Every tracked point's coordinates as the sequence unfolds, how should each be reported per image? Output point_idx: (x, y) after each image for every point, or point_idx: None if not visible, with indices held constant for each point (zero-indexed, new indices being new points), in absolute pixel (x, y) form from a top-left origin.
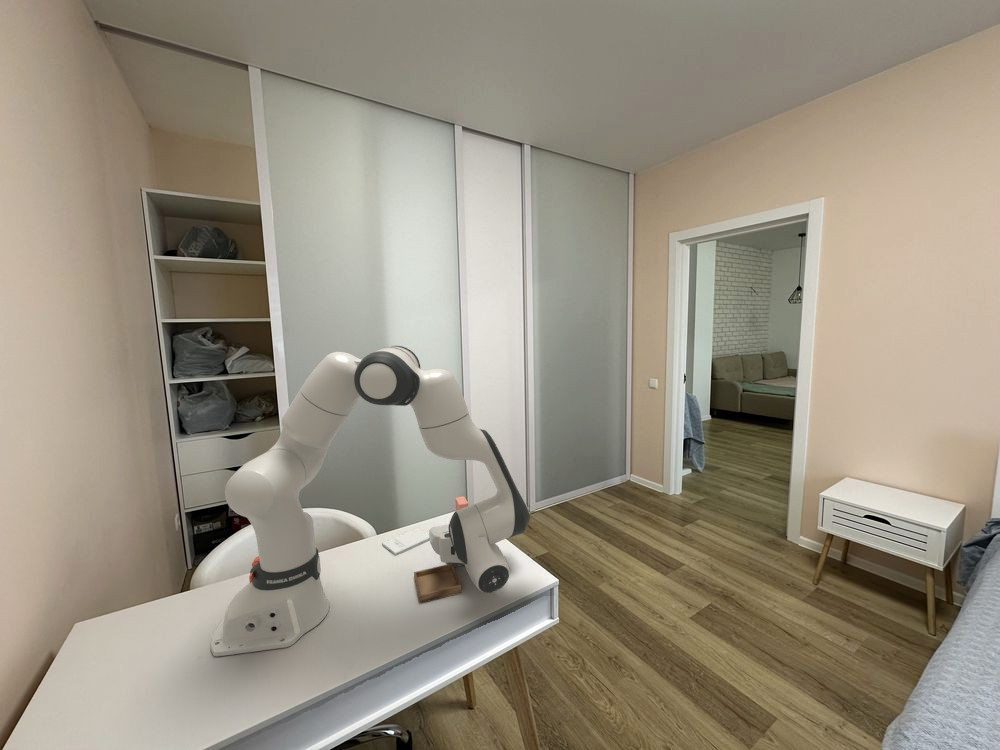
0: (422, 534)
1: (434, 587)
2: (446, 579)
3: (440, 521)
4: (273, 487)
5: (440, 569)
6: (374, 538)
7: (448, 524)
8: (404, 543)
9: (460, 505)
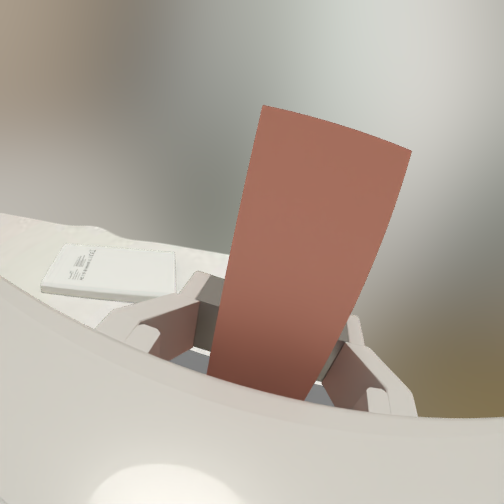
0: (159, 275)
1: None
2: None
3: None
4: None
5: None
6: (81, 228)
7: (38, 303)
8: (90, 272)
9: (279, 125)
